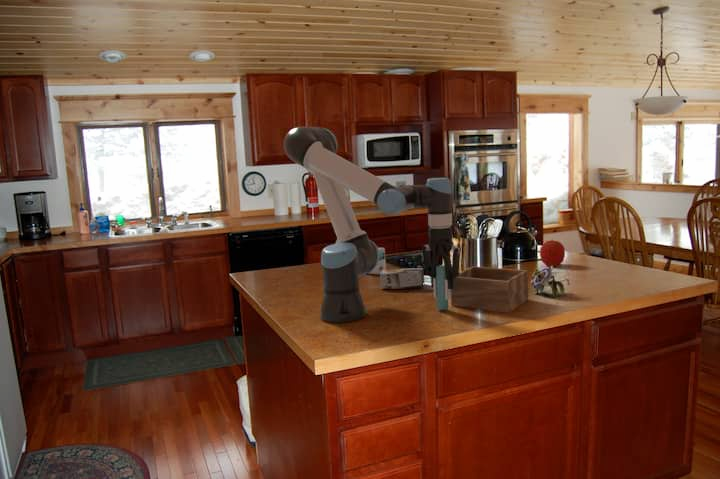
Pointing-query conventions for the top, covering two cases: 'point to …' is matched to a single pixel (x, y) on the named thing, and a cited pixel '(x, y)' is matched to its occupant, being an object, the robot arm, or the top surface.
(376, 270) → the light bulb box
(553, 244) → the red round piece
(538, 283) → the passion flower
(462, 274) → the crate
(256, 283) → the top surface
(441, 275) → the peg
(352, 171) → the robot arm
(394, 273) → the coffee box
